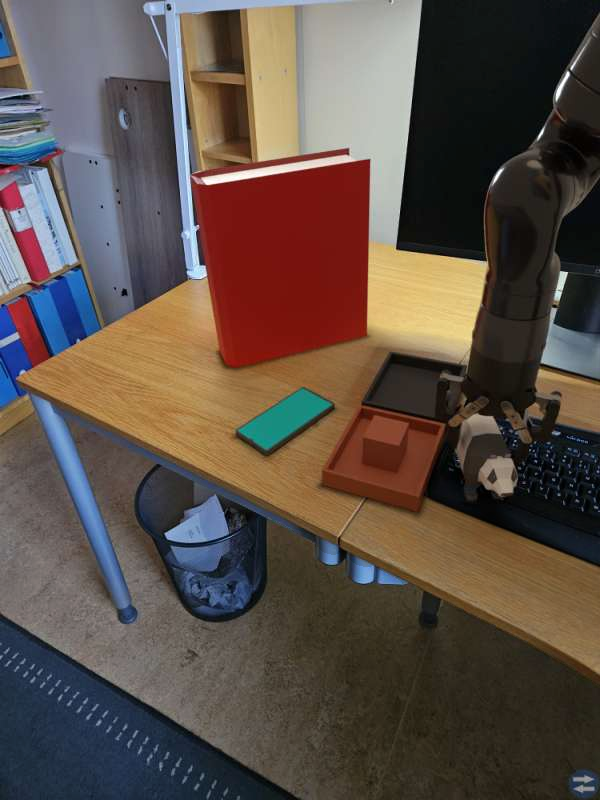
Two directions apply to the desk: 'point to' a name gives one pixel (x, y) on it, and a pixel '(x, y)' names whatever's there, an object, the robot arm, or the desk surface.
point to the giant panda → (485, 458)
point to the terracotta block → (385, 443)
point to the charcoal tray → (411, 386)
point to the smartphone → (284, 420)
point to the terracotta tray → (380, 483)
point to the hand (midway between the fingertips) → (485, 451)
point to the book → (285, 253)
